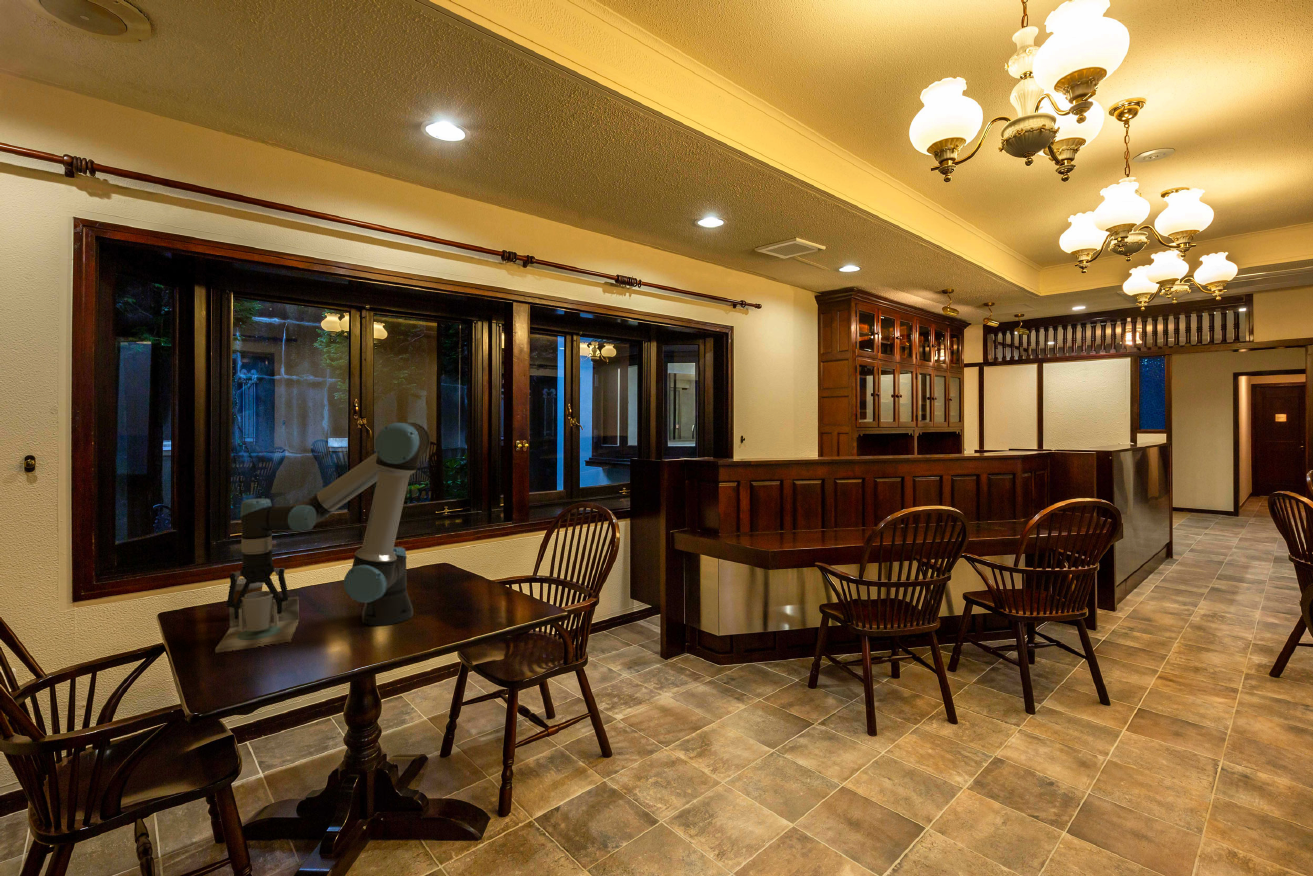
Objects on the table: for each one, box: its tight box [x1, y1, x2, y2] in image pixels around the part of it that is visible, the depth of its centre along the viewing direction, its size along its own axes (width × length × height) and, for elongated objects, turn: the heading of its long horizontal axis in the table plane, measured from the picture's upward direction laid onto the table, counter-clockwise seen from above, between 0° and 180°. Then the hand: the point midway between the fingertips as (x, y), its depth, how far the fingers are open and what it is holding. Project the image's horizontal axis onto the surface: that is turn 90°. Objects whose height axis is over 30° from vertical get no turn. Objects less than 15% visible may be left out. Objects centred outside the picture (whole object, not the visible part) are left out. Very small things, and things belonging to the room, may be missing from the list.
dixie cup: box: [241, 590, 274, 631], centre depth 179 cm, size 8×8×10 cm
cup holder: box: [214, 596, 300, 654], centre depth 180 cm, size 18×20×8 cm
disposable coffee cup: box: [229, 577, 264, 603], centre depth 198 cm, size 10×10×12 cm
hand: (259, 627), depth 179 cm, fingers closed on dixie cup, 8 cm apart
